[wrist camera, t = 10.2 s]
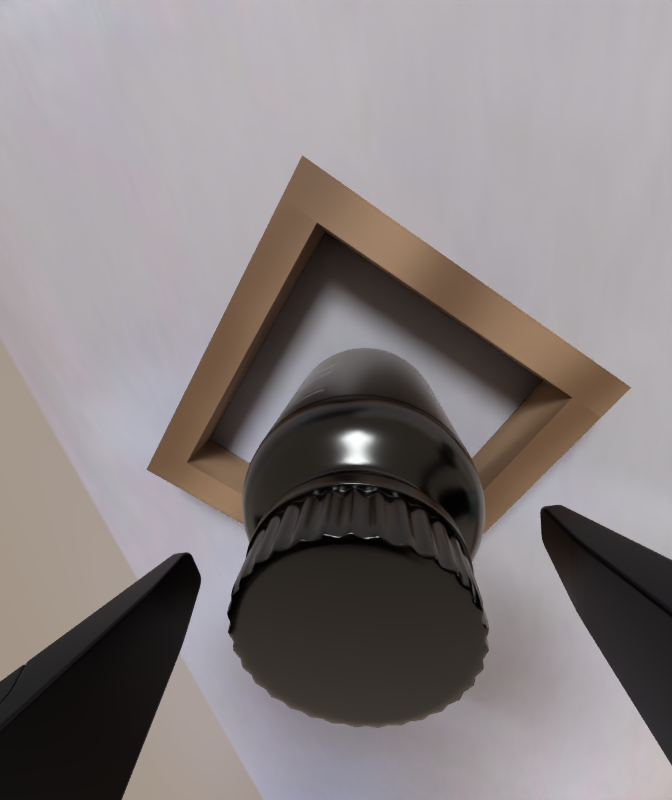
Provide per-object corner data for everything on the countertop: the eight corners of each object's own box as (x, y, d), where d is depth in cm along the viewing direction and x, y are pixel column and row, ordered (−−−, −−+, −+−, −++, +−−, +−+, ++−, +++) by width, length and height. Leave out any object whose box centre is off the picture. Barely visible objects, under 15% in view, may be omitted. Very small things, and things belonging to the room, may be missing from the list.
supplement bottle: (463, 397, 17) (655, 638, 6) (377, 493, 19) (391, 806, 8) (347, 314, 16) (299, 397, 5) (272, 423, 18) (115, 659, 7)
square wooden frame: (592, 371, 16) (631, 387, 14) (398, 575, 21) (402, 613, 18) (313, 175, 14) (302, 155, 12) (173, 446, 19) (146, 469, 17)
